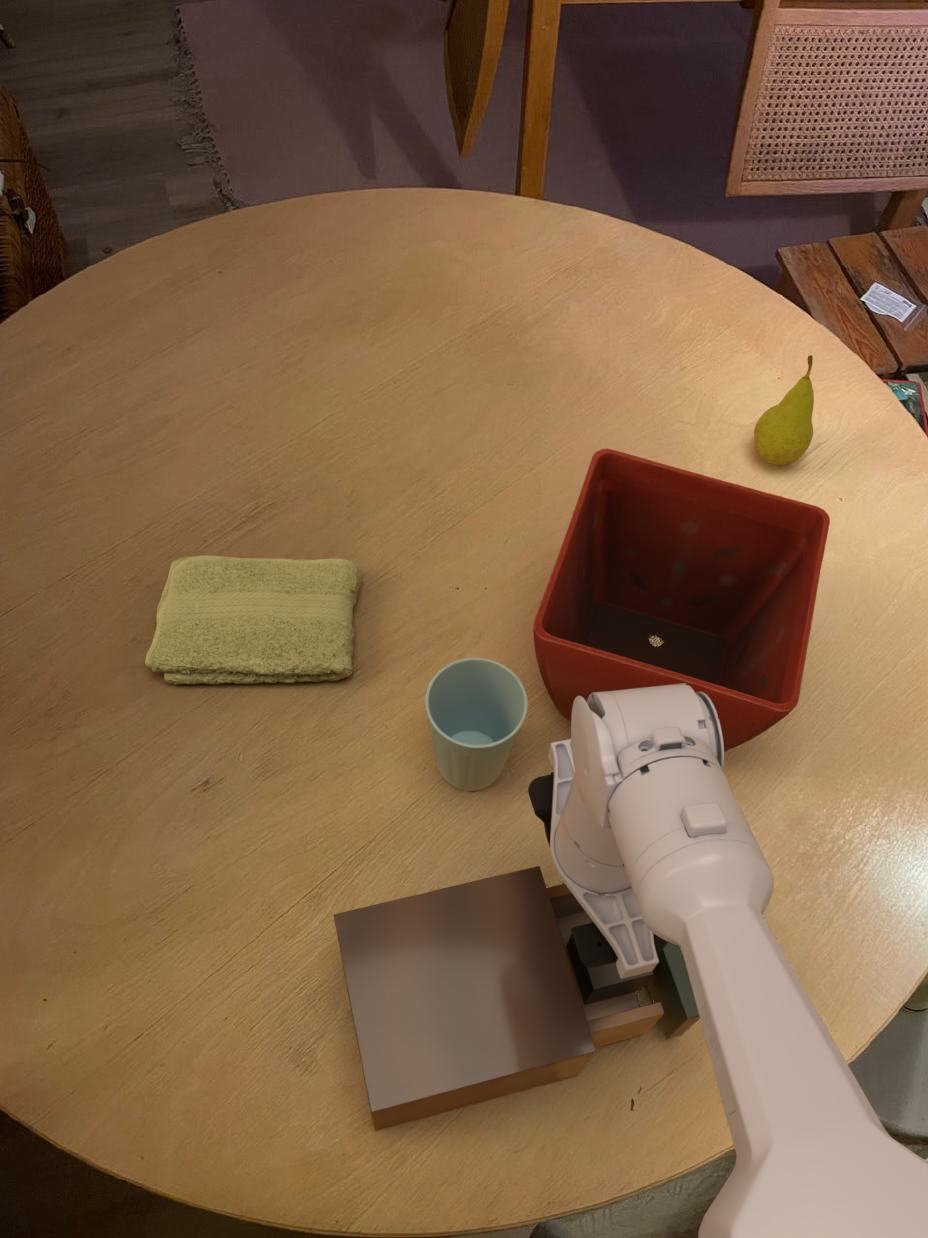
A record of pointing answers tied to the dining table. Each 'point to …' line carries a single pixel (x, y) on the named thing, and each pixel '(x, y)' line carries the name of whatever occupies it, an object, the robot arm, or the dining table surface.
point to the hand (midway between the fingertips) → (580, 895)
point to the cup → (474, 720)
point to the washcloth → (255, 620)
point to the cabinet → (461, 996)
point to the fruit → (787, 424)
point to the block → (603, 979)
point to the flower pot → (682, 592)
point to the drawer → (624, 1012)
